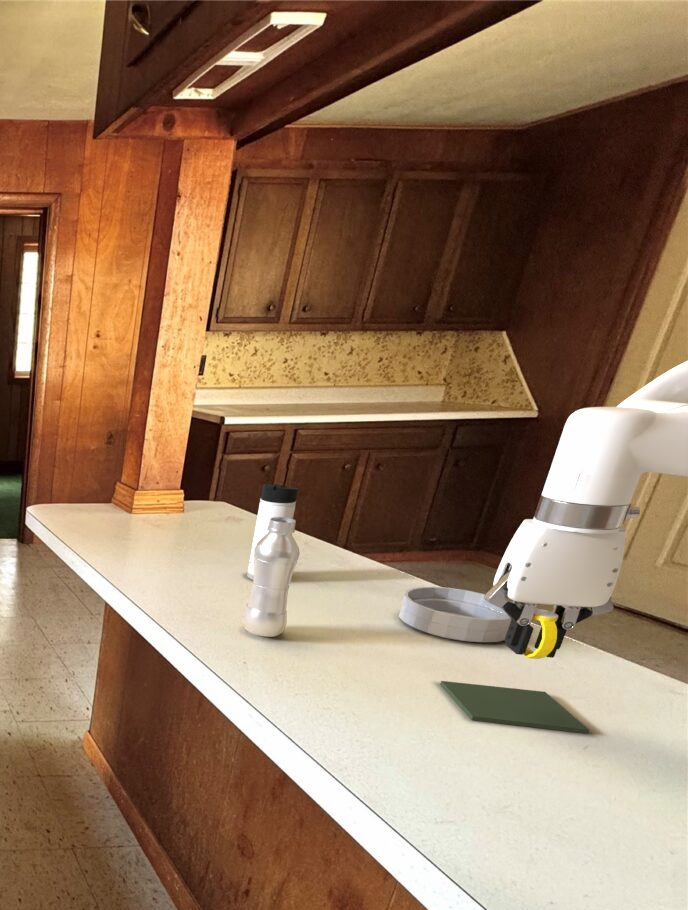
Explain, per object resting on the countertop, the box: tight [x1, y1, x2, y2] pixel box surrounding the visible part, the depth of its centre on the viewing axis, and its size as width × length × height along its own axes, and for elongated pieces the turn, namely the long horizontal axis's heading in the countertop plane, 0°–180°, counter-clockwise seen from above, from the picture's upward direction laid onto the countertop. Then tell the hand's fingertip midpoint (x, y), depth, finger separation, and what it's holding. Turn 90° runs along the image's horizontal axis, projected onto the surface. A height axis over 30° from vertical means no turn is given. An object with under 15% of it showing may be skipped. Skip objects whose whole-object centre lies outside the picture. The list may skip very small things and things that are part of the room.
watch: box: [523, 608, 558, 660], centre depth 85 cm, size 6×3×6 cm, turn 164°
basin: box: [398, 586, 511, 643], centre depth 113 cm, size 15×15×4 cm
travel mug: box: [246, 483, 299, 581], centre depth 134 cm, size 6×7×20 cm
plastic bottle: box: [242, 517, 300, 638], centre depth 110 cm, size 6×7×20 cm
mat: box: [439, 680, 590, 735], centre depth 89 cm, size 12×10×1 cm
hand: (529, 650), depth 86 cm, fingers closed on watch, 2 cm apart
